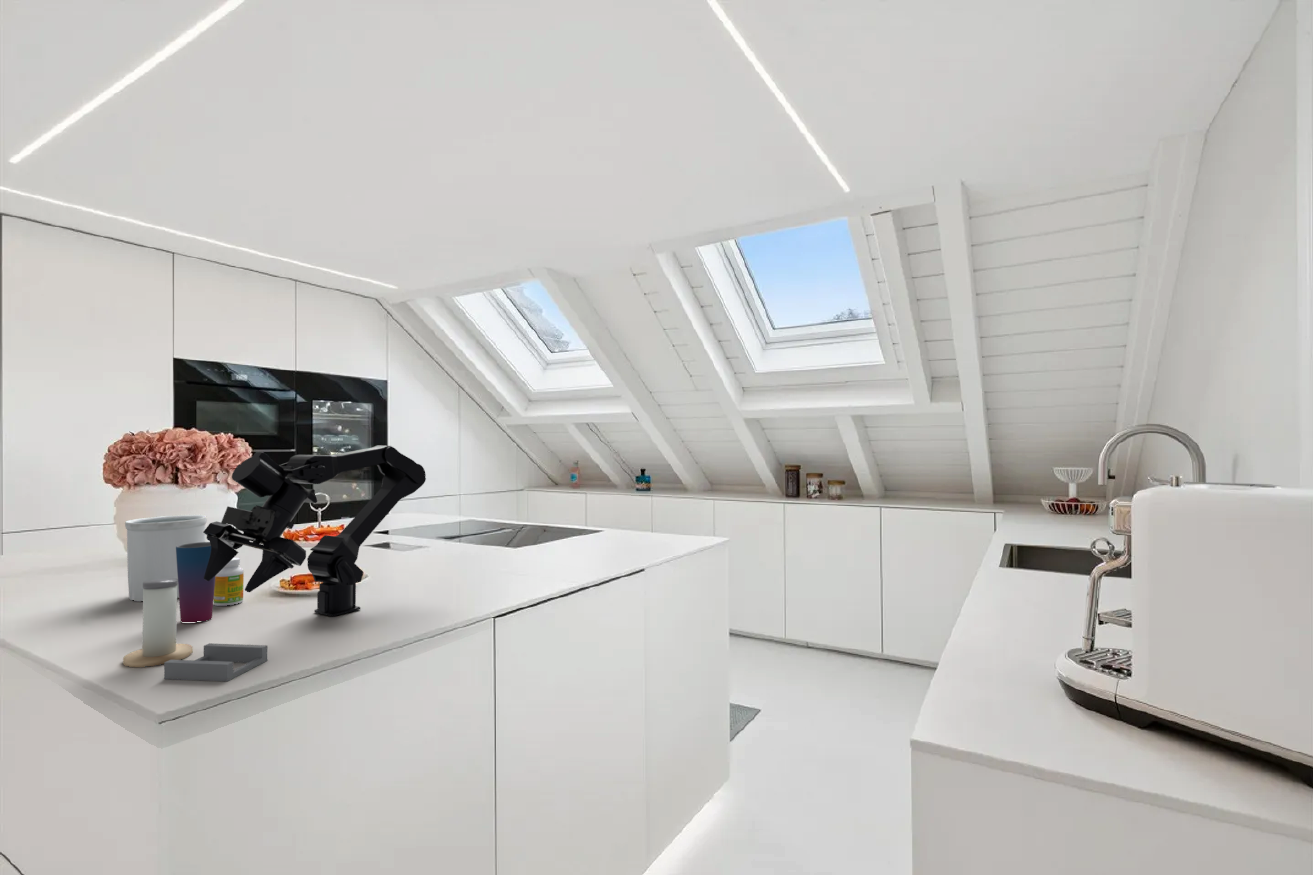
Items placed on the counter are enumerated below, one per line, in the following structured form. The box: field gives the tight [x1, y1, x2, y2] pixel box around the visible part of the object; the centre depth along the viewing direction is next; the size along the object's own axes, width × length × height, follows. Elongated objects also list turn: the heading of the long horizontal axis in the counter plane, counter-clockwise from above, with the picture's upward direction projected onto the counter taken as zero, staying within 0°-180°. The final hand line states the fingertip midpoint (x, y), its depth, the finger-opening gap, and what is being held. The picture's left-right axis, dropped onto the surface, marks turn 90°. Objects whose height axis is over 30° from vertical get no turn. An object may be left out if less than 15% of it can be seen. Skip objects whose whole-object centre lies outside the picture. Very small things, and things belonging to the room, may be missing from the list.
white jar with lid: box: [141, 578, 178, 657], centre depth 104 cm, size 5×5×12 cm
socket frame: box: [163, 642, 268, 682], centre depth 99 cm, size 9×10×2 cm
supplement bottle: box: [213, 556, 245, 607], centre depth 138 cm, size 5×5×10 cm
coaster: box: [122, 643, 193, 668], centre depth 104 cm, size 9×9×1 cm
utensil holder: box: [124, 514, 208, 602], centre depth 144 cm, size 15×15×18 cm
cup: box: [176, 541, 215, 622], centre depth 125 cm, size 7×7×15 cm
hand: (226, 585), depth 112 cm, fingers open, 9 cm apart
